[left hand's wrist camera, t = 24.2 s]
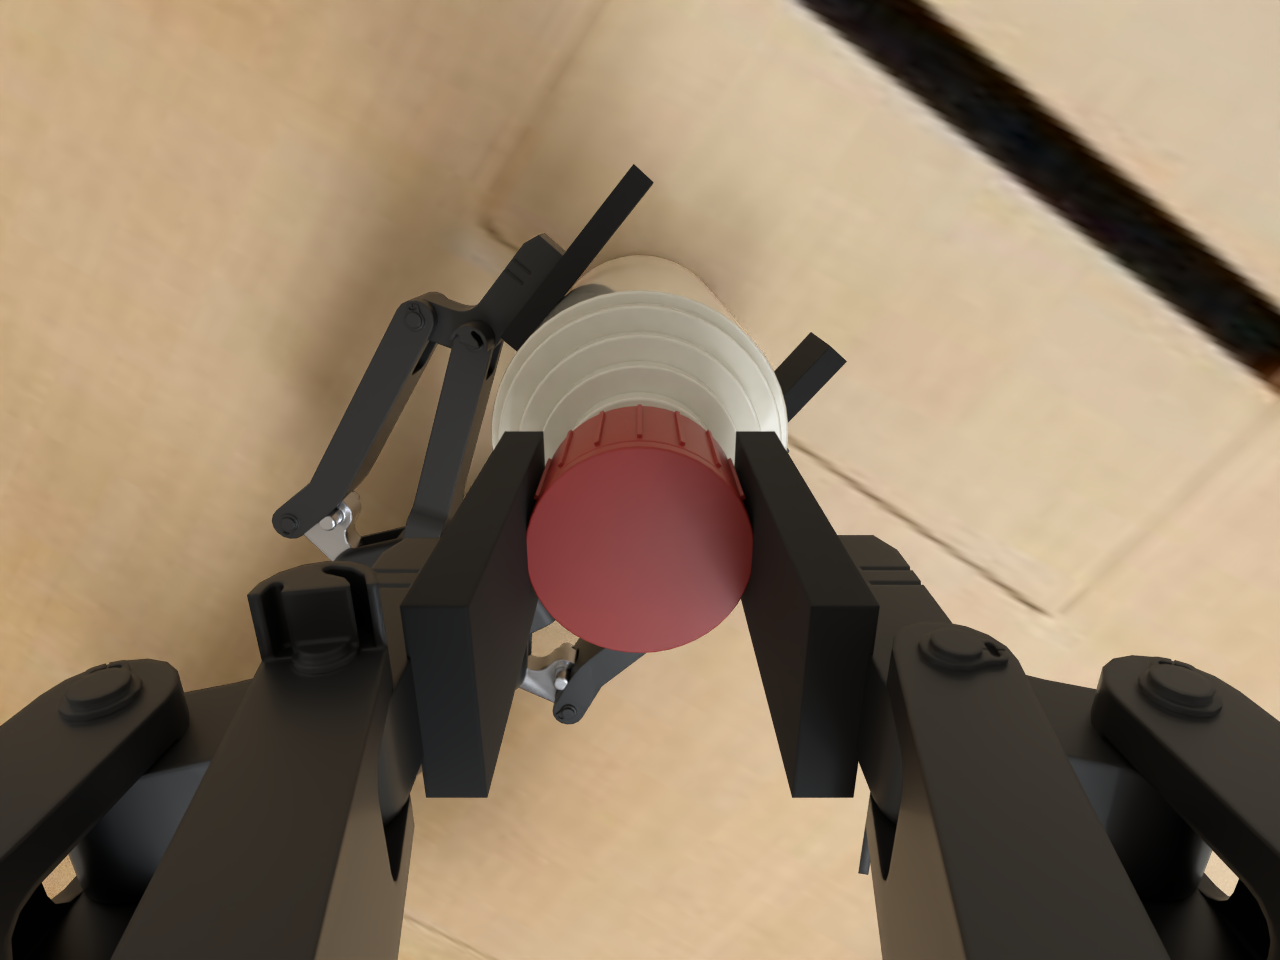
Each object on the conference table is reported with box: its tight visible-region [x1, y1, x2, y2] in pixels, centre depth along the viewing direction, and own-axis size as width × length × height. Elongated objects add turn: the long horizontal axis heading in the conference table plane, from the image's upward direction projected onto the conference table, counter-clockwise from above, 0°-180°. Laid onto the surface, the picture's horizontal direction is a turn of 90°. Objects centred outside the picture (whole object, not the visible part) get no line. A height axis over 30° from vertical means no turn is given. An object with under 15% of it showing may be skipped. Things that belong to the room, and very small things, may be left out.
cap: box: [526, 404, 753, 653], centre depth 13 cm, size 4×4×2 cm
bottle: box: [492, 255, 788, 466], centre depth 21 cm, size 7×7×18 cm
